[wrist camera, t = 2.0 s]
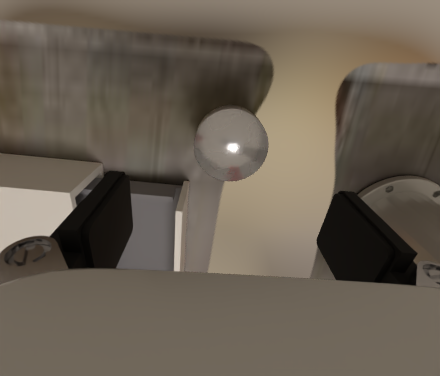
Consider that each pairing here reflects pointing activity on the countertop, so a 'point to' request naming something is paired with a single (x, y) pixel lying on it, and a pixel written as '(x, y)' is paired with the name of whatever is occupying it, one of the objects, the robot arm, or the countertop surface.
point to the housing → (39, 193)
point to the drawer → (154, 225)
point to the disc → (230, 143)
